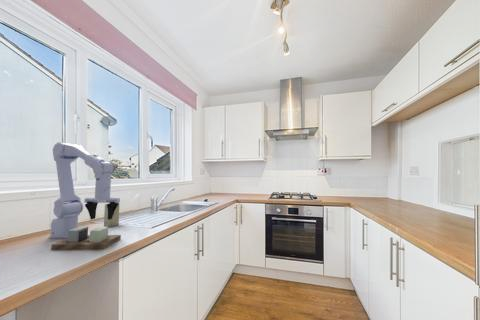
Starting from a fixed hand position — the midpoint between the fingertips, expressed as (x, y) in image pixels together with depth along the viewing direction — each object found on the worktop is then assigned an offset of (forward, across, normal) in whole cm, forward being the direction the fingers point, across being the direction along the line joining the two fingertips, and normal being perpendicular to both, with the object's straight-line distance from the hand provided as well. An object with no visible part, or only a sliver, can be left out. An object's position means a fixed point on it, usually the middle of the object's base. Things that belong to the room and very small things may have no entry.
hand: (101, 219), depth 92 cm
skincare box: (+10, -10, +25) cm, 28 cm away
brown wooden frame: (+9, -2, -5) cm, 11 cm away
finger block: (+9, +3, -5) cm, 11 cm away
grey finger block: (+9, -6, -5) cm, 12 cm away
